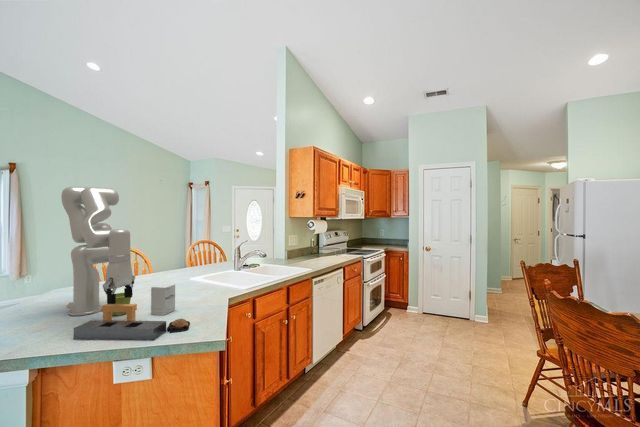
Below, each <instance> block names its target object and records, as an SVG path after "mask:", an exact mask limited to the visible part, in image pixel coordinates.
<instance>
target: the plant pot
mask: <svg viewBox="0 0 640 427" xmlns="http://www.w3.org/2000/svg"><path fill="white" fill-rule="evenodd" d="M115 294H116V303H115V304H131V300H132V299H131V298H132V297H131V298H125V297H124V292H118V293H115ZM132 296H133V292H132ZM124 314H126V315H127V312H112V316H123V315H124Z"/></svg>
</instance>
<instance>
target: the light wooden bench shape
mask: <svg viewBox="0 0 640 427" xmlns="http://www.w3.org/2000/svg"><path fill="white" fill-rule="evenodd" d="M101 306H102V310H101V313H102V321H113V314H112V312H127V313H126V321H136V311H137V310H138V305H137V303H130V304H107V303H105V304H103V305H101Z"/></svg>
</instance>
